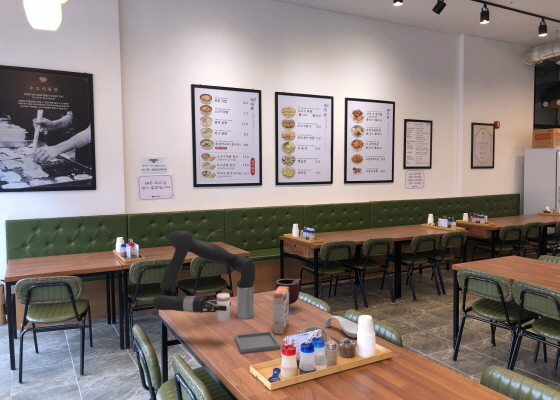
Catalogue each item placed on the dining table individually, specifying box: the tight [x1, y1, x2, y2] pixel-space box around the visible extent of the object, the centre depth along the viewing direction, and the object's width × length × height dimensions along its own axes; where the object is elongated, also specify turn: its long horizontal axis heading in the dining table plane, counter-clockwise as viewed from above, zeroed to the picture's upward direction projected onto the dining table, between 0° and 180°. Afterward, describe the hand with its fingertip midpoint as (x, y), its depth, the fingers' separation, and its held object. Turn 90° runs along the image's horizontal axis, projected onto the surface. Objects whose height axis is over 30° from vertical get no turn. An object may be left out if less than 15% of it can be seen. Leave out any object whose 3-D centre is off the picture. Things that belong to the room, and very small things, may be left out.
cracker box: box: [272, 286, 290, 335], centre depth 226 cm, size 14×6×21 cm, turn 168°
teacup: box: [296, 325, 328, 343], centre depth 205 cm, size 14×11×8 cm
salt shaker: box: [216, 292, 231, 323], centre depth 209 cm, size 6×6×12 cm
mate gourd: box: [274, 278, 301, 315], centre depth 256 cm, size 16×14×20 cm
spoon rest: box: [323, 315, 358, 339], centre depth 222 cm, size 24×12×7 cm, turn 46°
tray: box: [234, 330, 281, 355], centre depth 208 cm, size 18×18×2 cm
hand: (228, 306), depth 209 cm, fingers closed on salt shaker, 6 cm apart
